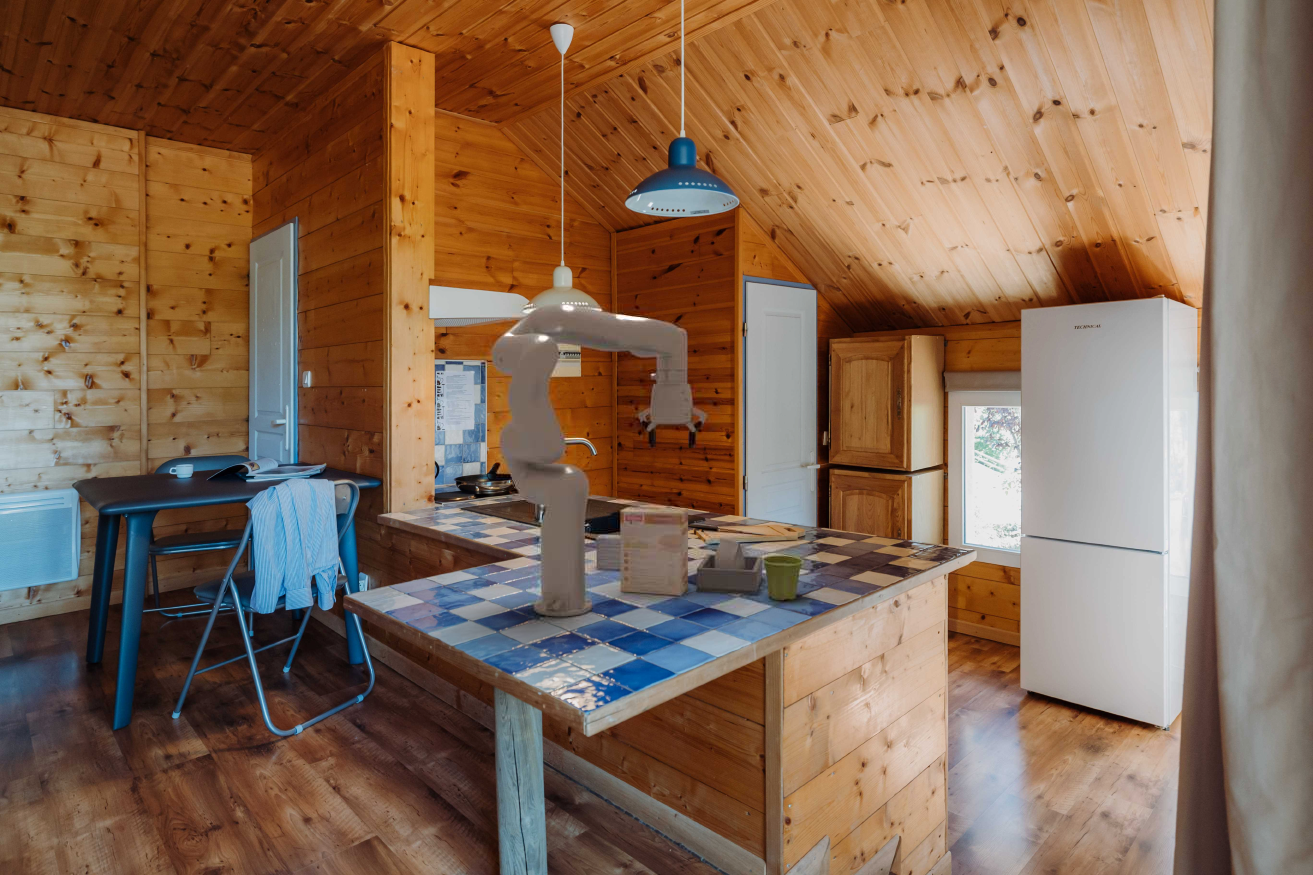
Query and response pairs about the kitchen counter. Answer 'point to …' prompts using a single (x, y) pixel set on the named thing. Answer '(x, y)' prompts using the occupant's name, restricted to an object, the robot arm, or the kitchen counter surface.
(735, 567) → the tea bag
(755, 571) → the walled box
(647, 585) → the coffeecake box
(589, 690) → the kitchen counter surface
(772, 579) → the plant pot
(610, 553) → the medicine box
